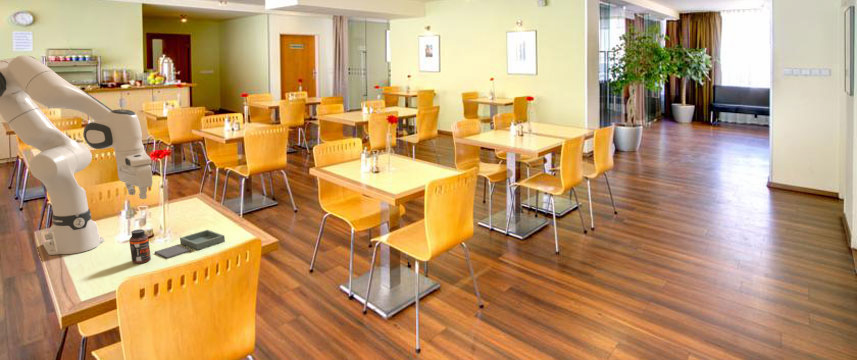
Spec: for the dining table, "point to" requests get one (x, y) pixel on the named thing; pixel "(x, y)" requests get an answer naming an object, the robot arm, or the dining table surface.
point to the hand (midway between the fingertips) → (137, 196)
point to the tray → (202, 239)
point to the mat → (172, 251)
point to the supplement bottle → (139, 247)
